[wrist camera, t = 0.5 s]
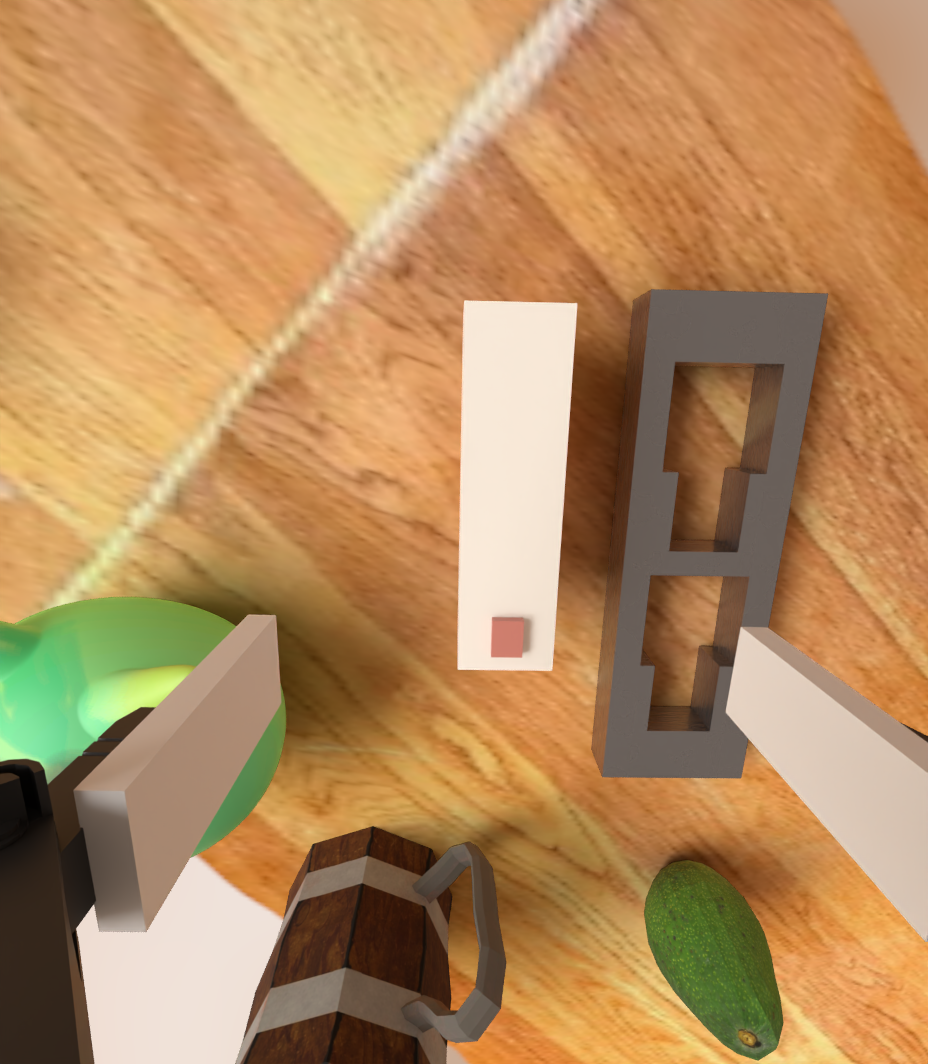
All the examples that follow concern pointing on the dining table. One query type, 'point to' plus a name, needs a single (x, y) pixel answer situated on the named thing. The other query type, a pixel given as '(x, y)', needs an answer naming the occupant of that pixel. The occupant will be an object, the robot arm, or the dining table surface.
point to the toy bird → (113, 685)
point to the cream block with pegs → (512, 480)
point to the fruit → (715, 956)
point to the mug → (374, 957)
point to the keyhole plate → (742, 527)
